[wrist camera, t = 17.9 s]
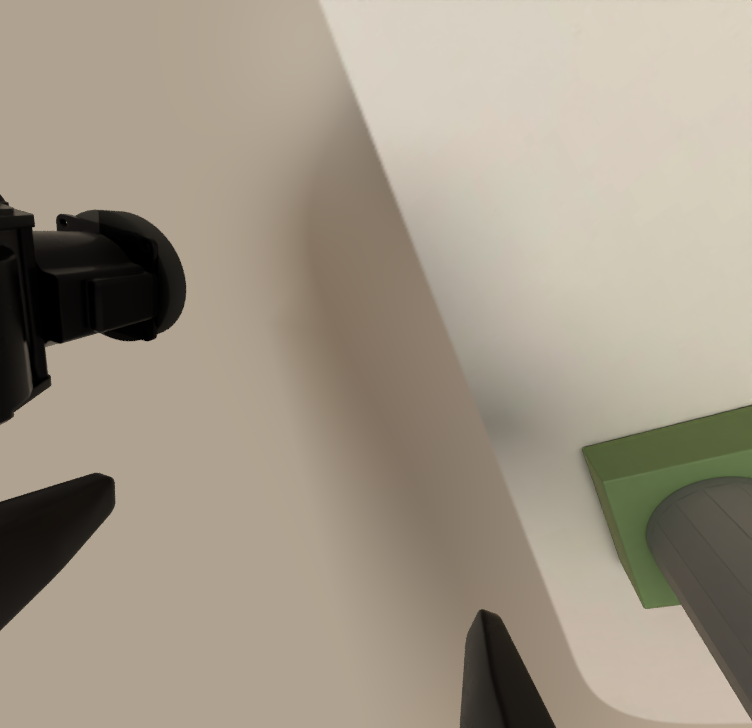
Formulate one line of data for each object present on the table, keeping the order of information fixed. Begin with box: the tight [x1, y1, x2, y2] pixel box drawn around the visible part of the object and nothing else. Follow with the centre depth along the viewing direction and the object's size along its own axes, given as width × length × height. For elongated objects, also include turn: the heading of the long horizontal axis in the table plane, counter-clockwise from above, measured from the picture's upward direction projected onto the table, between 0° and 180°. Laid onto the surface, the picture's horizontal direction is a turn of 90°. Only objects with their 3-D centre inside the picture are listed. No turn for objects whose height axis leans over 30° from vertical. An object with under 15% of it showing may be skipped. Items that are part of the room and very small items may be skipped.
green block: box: [583, 406, 752, 609], centre depth 18 cm, size 8×8×3 cm
